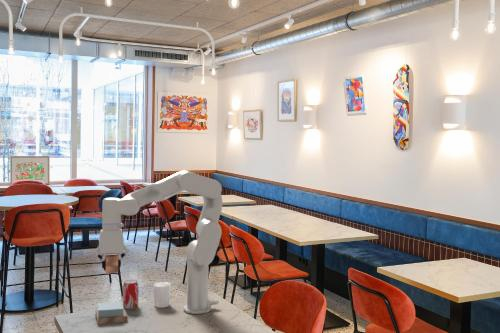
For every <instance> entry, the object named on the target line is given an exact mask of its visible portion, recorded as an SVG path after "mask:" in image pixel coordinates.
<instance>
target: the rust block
mask: <svg viewBox="0 0 500 333" xmlns="http://www.w3.org/2000/svg"><path fill="white" fill-rule="evenodd" d="M105 261H106V270H104V272H105V274H107V275H108V274H118V273H119V269H118V255H117V253H116V254H106V257H105Z"/></svg>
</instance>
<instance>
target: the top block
mask: <svg viewBox="0 0 500 333" xmlns="http://www.w3.org/2000/svg"><path fill="white" fill-rule="evenodd" d="M97 306H98V307H97V308H98V309H97V310H98V318H99V317H113V316H123V301H108V302H106V301H105V302H98V305H97Z"/></svg>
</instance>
